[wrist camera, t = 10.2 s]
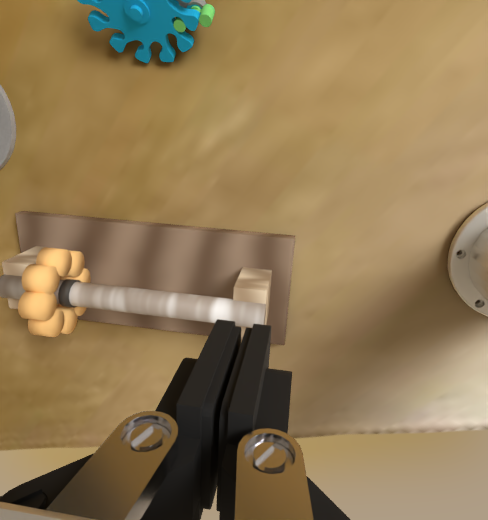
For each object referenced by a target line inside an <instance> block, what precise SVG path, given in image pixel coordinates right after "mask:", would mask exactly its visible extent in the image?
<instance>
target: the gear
mask: <svg viewBox="0 0 488 520" xmlns="http://www.w3.org/2000/svg"><path fill="white" fill-rule="evenodd" d="M77 1H78V2H80V3H82V4H89V5H93V6H95V7H97V8H99V9H101V10H102V11H103V12H105V13H106V14H107V15H108V16H109V17H106V16H104V15H103V14H101V13H100V12H98V11H95V10H93V11H91V13H90V15H89V17H88V21H89V23H90V25H91V27H92V29H93V30H94V31H101V30H102V29H104V28H114V29H118V30H120V31H122V32H123V33H124V34H120V33H114V34H113V35H112V37H111V39H110V42H109V43H110V44H111V46H112V47H113V48H114V49H115V50H116V51H118V52H123V50H124V48H125V46H126V44H127V43H128V42H130V41H133V40H139V41H140V42H142V44H143V45H140V46H139V47H138V49H137V51H136V53H135V57H136V58H137V59H138V60H140V61H142V62H144V63H148V62H149V61H150V58H151V55H152V52H151V48H150V45H151V43H152V42H154V41H156V42H159V43H160V44H161V45H162V49H161V52H160V55H159V57H160V60H161V61H163V62H173V61H174V58H175V55H176V52H175V50H174V48H173V47H172V46H171V44H170V42H169V39H168V34H169V33H171V34H173V35H175V36H176V38H177V46H178V48H179V50H180V51H182V52H185V51H188V50H189V49H190V48H191V47H192V46H193V43H194V39H193V37H192V36H191V35H190V34H188V33H187V32H185V29H186V27H187V28H188V29H189V30H191V31H195V30H196V28H197V25H198V22H200V24H201V25H202V26H204V27H209V26H210V25H211V23H212V20H213V17H214V13H215V10H214V8H213V6H212V5H210V4H206V2H205V0H77ZM175 17H176V18H175Z"/></svg>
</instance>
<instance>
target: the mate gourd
mask: <svg viewBox="0 0 488 520" xmlns="http://www.w3.org/2000/svg"><path fill="white" fill-rule="evenodd" d="M15 140H16V123H15V117H14V113H13V110H12V107H11V104H10V101H9V99H8V97H7V95H6V93H5V91H4V89H3V88H2V87H1V85H0V169H2V168H3V167H4V166H5V164H6V163H7V162H8V160H9V159H10V157H11V154H12V152H13V150H14V145H15Z"/></svg>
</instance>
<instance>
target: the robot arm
mask: <svg viewBox="0 0 488 520" xmlns="http://www.w3.org/2000/svg"><path fill="white" fill-rule="evenodd" d="M459 250H460V253H459V254H456V253H457V252H458V251H459ZM448 272H449V277H450V280H451V282H452V285H453V287H454V289H455V290H456V292H457V293H458V295H459V296H460V297H461V298H462V299H463V300H464V302H465V303H466V304H467V305H469V306H470V307H471V308H472V309H474V310H475V311H477V312H479V313H481V314H483V315H485V316H487V317H488V202H487V203H486V204H484V205H483V206H481V207H480V208H478V209H477V210H476V211H475V212H474V213H472V214H471V215H470V216H469V217H468V218H467V219H466V220H465V222H464V223H463V224H462V225H461V227H460V228H459V229H458V231H457V233H456V235H455V237H454V239H453V241H452V243H451V246H450V250H449V253H448ZM477 300H478V301H477ZM476 301H477V302H476ZM270 341H271V326H270V325H262V324H253V327H252V328H247V327H246V330H245V333H244V336H243V339H242V342H241V327H239V326H235V321H228V320H219V319H217V320H216V322H215V324H214V326H213V329H212V331H211V333H210V335H209V337H208V339H207V341H206V343H205V345H204V347H203V350H202V352H201V354H200V356H199V358H198V359H192V358H184V359H183V361H182V362H181V364H180V366H179V368H178V370H177V372H176V373H175V375H174V377H173V379H172V381H171V383H170V385H169V386H168V388H167V390H166V392H165V394H164V396H163V398H162V399H161V401H160V403H159V405H158V407H157V409H156V411H143V412H140V413H136V414H134V415H132V416H130V417H128V418H126V419H125V420H124V421H123V422H121V423H120V424H119V425H118V426H117V428H116V429H115V430H114V431H113V432H112V433H111V435H110V436H109V437H108V438H107V439H106V440H105V441H104V443H103V444H102V445H101V446H100V447H99V448H98V450H97V451H96V452H95V453H94V454H92V455H89V456H87V457H85V458H82V459H80V460H77V461H75V462H73V463H70V464H68V465H66V466H63V467H61V468H59V469H56V470H54V471H52V472H49V473H47V474H45V475H42V476H40V477H38V478H35V479H33V480H31V481H29V482H26V483H24V484H21V485H19V486H17V487H15V488H13V489H12V490H10V491H8V492H7V493H6V494H4V495H3V496H0V520H200V519H201V515H202V512H203V508H205V509H211V506H212V503H213V499H214V496H215V492H216V488H217V511H220V520H350V519H349V518H348V517H347V516H346V515H345V514H344V513H343V512H342V511H341V510H340V509H339V508H338V507H337V506H336V505H335V504H334V503H333V502H332V501H331V500H330V499H329V498H328V497H327V496H326V495H325V494H324V493H323V492H322V491H321V490H320V489H319V488H318V487H317V486H316V485H315V484H314V483H313V482H312V481H311V480H310V479H309V478H308V477H307V476H306V471H305V465H304V459H303V453H302V450H301V448H300V445H299V444H298V443H297V442H296V440H295V439H294V438H292V437H291V436H290V435H288V434H287V431H288V418H289V405H290V392H291V379H292V372H290V371H283V370H275V369H268V367H269V354H270Z"/></svg>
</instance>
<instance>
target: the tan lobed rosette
mask: <svg viewBox="0 0 488 520" xmlns="http://www.w3.org/2000/svg"><path fill="white" fill-rule="evenodd" d="M84 263H85V261H84V256H83V254H82V253H81V252H80V251H70V250H66V249H57V248H48V247H45V248H42V249H41V250H40V251H39V253H38V255H37V259H36V264H30V265H28V266H27V267H26V268H25V270H24V272H23V274H22V286H23V289H24V290H25V292H24V293H23V294H22V296H21V297H20V300H19V303H18V312H19V314H20V316H21V317H22V318H26V319H29V320H28V329H29V331H30V333H31V334H33V335H41V336H48V337H57V336H58V335H59V334H60V333H63V334H70V333H72V332H73V330H74V329H75V327H76V324H77V320H78V316H81V315H83V314H84V312H85V310H86V307H75V308H73V307H64V306H62V305H61V304H57V299H56V296H55V294H54V292H55V291H56V290H57V288H58V286H59V283H60V280H66V279H74V280H80V281H81V282H87V283H90V280H91V276H90V272H89V270H88V269H85V268H84Z"/></svg>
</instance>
